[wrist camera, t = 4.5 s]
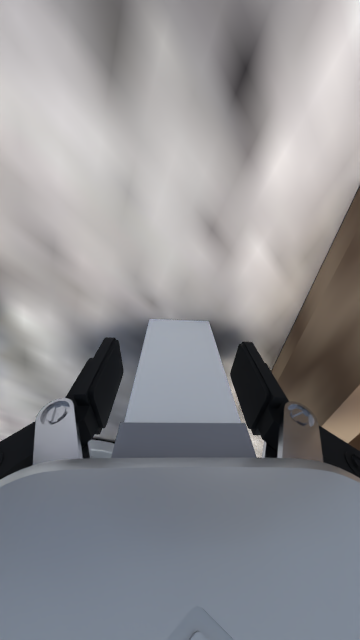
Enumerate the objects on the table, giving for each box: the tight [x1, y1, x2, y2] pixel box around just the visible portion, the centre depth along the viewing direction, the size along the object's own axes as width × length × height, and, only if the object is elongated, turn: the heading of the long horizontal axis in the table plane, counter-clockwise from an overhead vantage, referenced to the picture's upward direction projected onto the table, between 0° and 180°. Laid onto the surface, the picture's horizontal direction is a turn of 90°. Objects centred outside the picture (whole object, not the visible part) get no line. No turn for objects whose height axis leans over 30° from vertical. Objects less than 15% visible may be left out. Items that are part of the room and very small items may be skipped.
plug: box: [111, 319, 257, 458], centre depth 9 cm, size 4×4×8 cm
